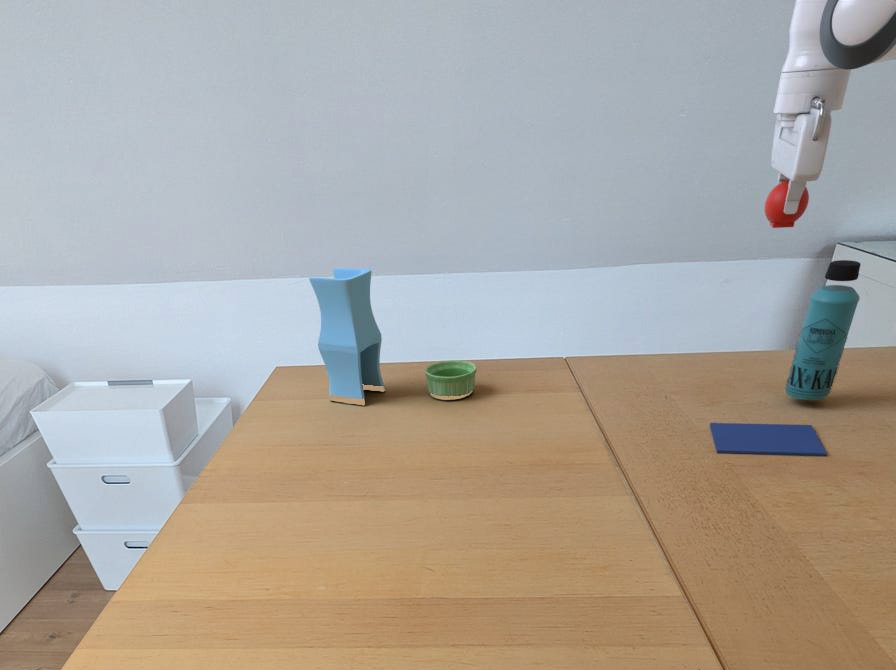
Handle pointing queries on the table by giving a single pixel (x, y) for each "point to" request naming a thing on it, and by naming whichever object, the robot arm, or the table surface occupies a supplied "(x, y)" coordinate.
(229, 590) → the table surface
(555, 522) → the table surface
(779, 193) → the red ball with base
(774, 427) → the cloth
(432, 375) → the ramekin
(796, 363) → the beverage bottle
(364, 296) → the vase
